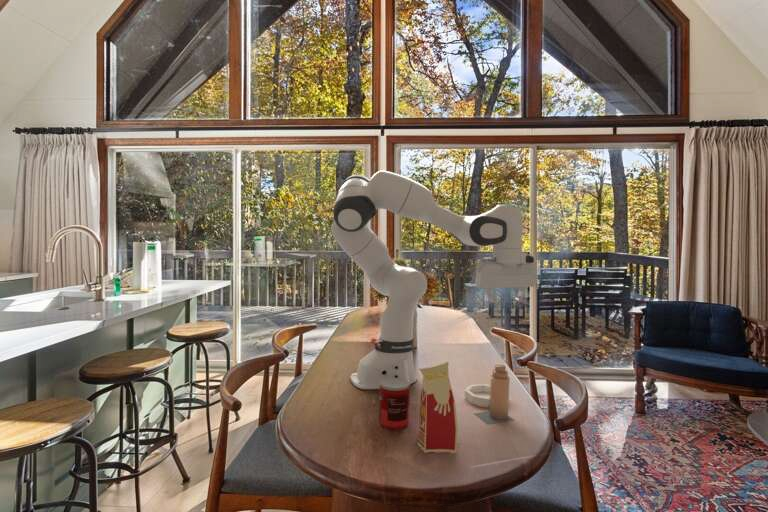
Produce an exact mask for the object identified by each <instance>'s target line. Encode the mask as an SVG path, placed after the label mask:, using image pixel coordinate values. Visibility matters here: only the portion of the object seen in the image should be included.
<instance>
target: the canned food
mask: <svg viewBox="0 0 768 512" xmlns="http://www.w3.org/2000/svg"><path fill="white" fill-rule="evenodd" d="M409 416H410V385H409V382H408V381H406V380H404V379H400V378H387V379H383V380H382V381H381V382H380V389H379V416H378V417H379V418H378V419H379V423H380V426H382V427H383V428H385V429H388V430H392V431H393V430H396V431H397V430H398V431H399V430H402V429H405V428H407V427H408V425H409V422H410V421H409V420H410V419H409V418H410V417H409Z"/></svg>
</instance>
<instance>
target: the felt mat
mask: <svg viewBox="0 0 768 512" xmlns="http://www.w3.org/2000/svg"><path fill="white" fill-rule="evenodd" d="M489 412H490V410H489V411H482V412H476V413H475V412H474V413H473V414H474V415H475V416H476V417H477V418H479V419H480V420H481V421H482V422H484V423H485V424H486V425H492V424H498V423H499V424H500V423H505V422H507V423H509V422H513V421H516V419H514V418H512V416H509V415H508V419H506V420H496V419H493V418H491V417H490V416H489Z"/></svg>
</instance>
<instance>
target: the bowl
mask: <svg viewBox="0 0 768 512" xmlns="http://www.w3.org/2000/svg"><path fill="white" fill-rule="evenodd" d="M464 398H465V399H466V401H467V402H468V403H470V404H472V405H474V406H476V407H477V406H478V407H483V408H490V384H488V383H487V384H486V383H479V384H478V383H477V384H469V385H468V386H466V388H465V389H464Z"/></svg>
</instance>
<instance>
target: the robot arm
mask: <svg viewBox="0 0 768 512" xmlns="http://www.w3.org/2000/svg"><path fill="white" fill-rule="evenodd" d="M379 209H381V210H382V209H383V210H386V211H389V212H391V213H393V214H396V215H397V216H400V217H403V218H406V219H408V220H409V219H410V220H412V221H417V222H424V223H429V224H431V225H433V226H435V227H437V228H439V229H441V230H444V231H445V232H447V233H450V234H451V235H452V236H453V237H454V238H455V240H456V241H457V242H458V243H459V244H460V245H463V246H465V247H488V246H492V257H481V258H480V259H478V261H477V262H476V274H475V279H474V280H475V281H474V283H475V285H476V287H477V288H480V289H485V292H486V293H487V296H488V301H489V303H491V304H492V303H496V302H497V296H494V294H493V292H494V290H495V289H503V288H504V289H505V288H507V289H508V288H517V289H518V293H517V294H515V295H514V298H515V299H514V301H515V302H522V301H523V297H524V296H525V293H526V291H527V288H535V286H536V285H537V283H538V268H537V266H536V263H537V257H536V256H534V255H532V254H529V253H526V252H523V244H522V238H523V235H524V233H523V232H524V220H523V212H522V209H521V208H519V207H518V206H516V205H512V204H505V203H502V204H497V205H496V206H495V207H493V208H492V209H489V210H488V211H486V212H484V213H483V212H482V213H480V214H477V215H459V214H457V213H455V212H453V211H451V210H449V209H447V208H445V207H443V206H441V205H439V204H438V203H437V202H436V201H435V198H434V195H433V193H432V191H431V190H430V189H429V188H427V187H426V186H424V184H422V183H419V182H418V181H415V180H414V179H411V178H409V177H406V176H404V175H401V174H398V173H395V172H392V171H388V170H387V171H386V170H379V171H377V172H376V173H374V174H373V175H372V176H371V177H370V179H369V178H368V177H367V176H365V175H363V174H353V175H350V176H348V177H347V178H345V180H343V182H342V184H341V186H340V189H339V190H338V192H337V195H336V200H335V204H334V206H333V210H332V213H333V214H332V215H333V220H334V221H333V223H332V224H331V227H330V232H331V235H332V237H333V238H334V239H335V241H336V243H337V244H338V245H339V246H340V248H341V249H342V251H344V253H346V255H348V257H349V258H350V259H351V260H353V262H355V264H356V265H357V266H358V267H359V268H360V269H361V270H362V272H363V273H364V274H365V275H366V277H367V278H368V280H369V281H370V285H371V286H372V288H373V289H374V290H375V291H376V292H378V293H379V294H381V295H383V296H385V297H388V300H387V304H386V308H385V310H384V311H383V312H382V313H381V314H380V326H379V327H380V328H379V329H380V330H379V331H380V333H379V334H380V335H379V337H378V339H376V338H375V337H372V338H371V339H370V343H371V344H372V345H373V346H374V349H372V350H371V351H370V352H369V353H368V354H366V355H365V356H364V357H362V358H361V359H360V360H359V362H358V365H357V371H356V372H353V373H351V375H350V382H351V384H353V385H354V386H355V387H356V388H359V389H360V390H380V382H381V381H382V380H383V379H387V378H400V379H404V380H406V381H408V382H409V386H410V385H412V384H414V383H415V382H416V381H417V380H418V378H417V375H416V371H415V365H414V351H415V342H414V341H415V339H414V337H413V332H414V315H415V311H416V309H417V305H418V302H419V301H420V300H421V299H422V298H423V296H424V295H425V294H426V292H427V289H428V280H427V278H426V276H425V274H424V273H422V272H421V271H419V270H418V269H415V268H414V267H411V266H403V265H399V264H397V263H396V262H395V261H394V260H393V259H392V257H391V255H390V253H389V250H390V249H389V247H388V246H387V245H386V243H384V242H383V241H382V240H381V238H379V236H378V235H377V234H376V233H375V232H374V231H373V230H372V229H371V227H369V225H367V224H368V223H369V222H370V220H372V219H373V218H374V217H375V216H376V214H377V210H379Z"/></svg>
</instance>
